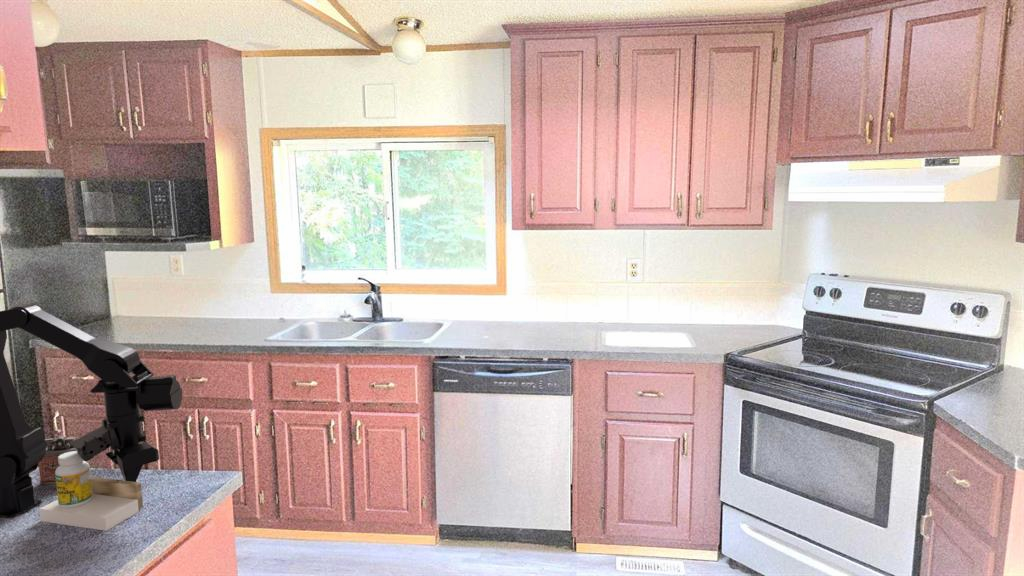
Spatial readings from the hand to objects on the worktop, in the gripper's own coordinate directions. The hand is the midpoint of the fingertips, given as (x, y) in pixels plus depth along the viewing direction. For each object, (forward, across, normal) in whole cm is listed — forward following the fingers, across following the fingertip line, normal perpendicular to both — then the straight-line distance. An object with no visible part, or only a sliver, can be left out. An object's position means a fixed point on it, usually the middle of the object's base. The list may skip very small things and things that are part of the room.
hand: (130, 486), depth 124 cm
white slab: (+3, +1, -7) cm, 8 cm away
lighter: (+3, -21, -7) cm, 22 cm away
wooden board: (+3, -1, -3) cm, 4 cm away
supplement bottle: (+1, -2, -9) cm, 9 cm away
